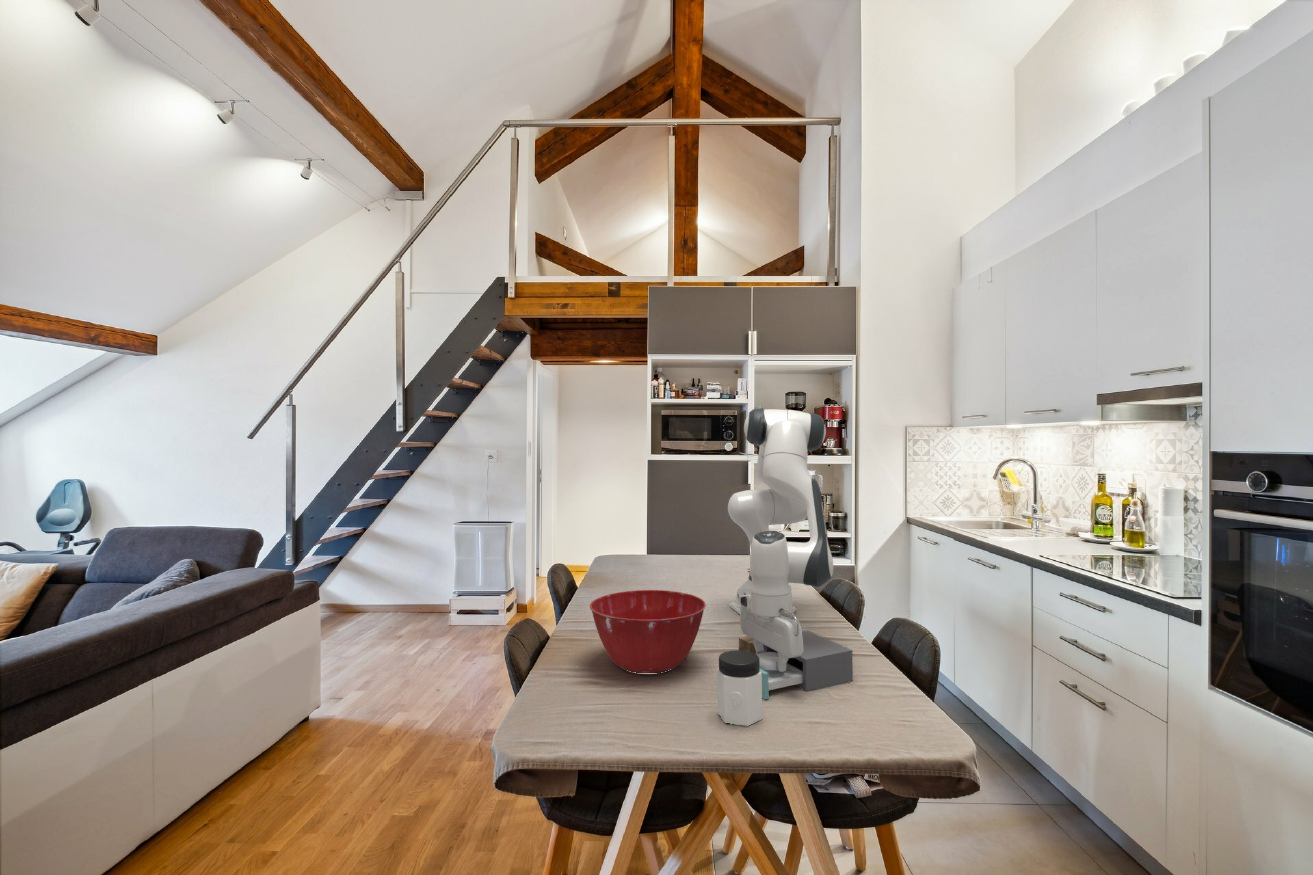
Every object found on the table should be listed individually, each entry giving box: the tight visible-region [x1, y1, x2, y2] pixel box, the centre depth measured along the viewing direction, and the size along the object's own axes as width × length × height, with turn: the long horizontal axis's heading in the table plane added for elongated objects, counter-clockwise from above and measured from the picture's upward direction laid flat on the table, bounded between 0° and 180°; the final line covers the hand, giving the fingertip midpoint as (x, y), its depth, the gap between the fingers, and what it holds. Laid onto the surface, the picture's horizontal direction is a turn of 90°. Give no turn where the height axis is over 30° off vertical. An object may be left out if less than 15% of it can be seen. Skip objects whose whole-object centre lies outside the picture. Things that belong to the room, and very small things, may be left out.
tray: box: [760, 663, 803, 700], centre depth 142 cm, size 16×13×5 cm
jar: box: [716, 649, 763, 727], centre depth 125 cm, size 9×8×12 cm
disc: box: [757, 652, 780, 670], centre depth 142 cm, size 7×7×2 cm
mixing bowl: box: [589, 589, 707, 673], centre depth 154 cm, size 28×28×16 cm
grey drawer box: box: [764, 630, 854, 692], centre depth 147 cm, size 16×13×7 cm
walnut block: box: [738, 635, 764, 654], centre depth 157 cm, size 5×5×5 cm
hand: (770, 664), depth 142 cm, fingers closed on disc, 6 cm apart
